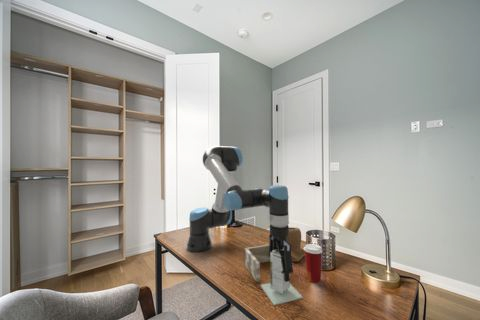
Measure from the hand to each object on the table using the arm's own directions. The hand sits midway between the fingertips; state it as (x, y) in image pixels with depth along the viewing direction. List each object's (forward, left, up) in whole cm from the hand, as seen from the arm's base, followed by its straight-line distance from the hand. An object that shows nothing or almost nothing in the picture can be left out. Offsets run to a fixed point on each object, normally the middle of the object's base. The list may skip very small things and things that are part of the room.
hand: (280, 282), depth 78 cm
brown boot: (-25, +22, -4) cm, 33 cm away
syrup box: (0, 0, -2) cm, 2 cm away
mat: (0, 0, -4) cm, 4 cm away
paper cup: (-3, +18, -4) cm, 19 cm away
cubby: (-17, +1, -4) cm, 18 cm away
